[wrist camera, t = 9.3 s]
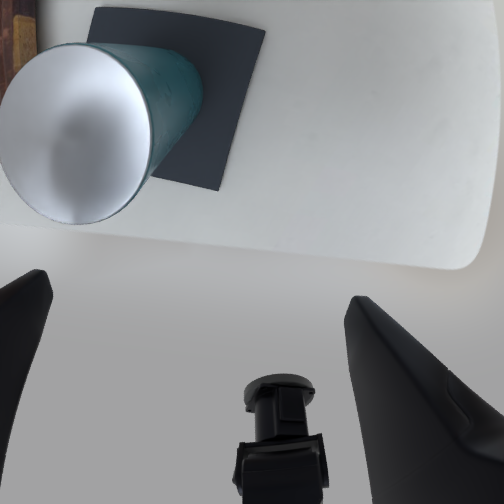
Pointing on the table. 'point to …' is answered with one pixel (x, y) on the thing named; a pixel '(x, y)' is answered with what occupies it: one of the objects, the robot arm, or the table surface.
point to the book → (16, 39)
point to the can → (93, 125)
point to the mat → (211, 73)
